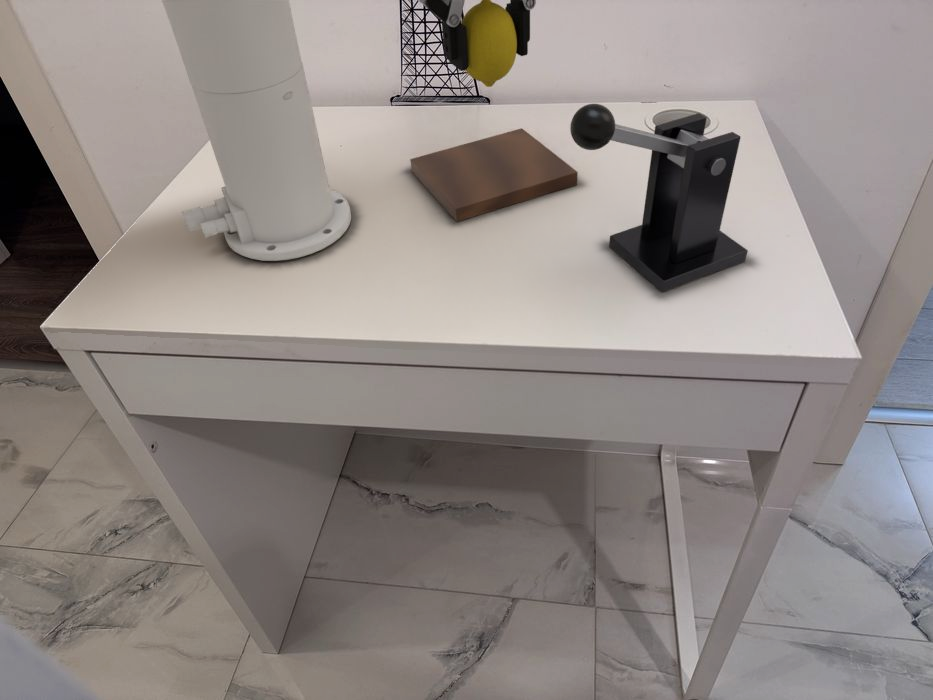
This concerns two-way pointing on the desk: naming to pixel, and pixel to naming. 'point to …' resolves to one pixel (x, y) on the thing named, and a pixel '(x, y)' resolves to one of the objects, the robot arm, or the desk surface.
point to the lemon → (489, 42)
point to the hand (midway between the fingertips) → (487, 56)
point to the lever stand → (684, 211)
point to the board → (492, 173)
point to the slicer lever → (625, 134)
